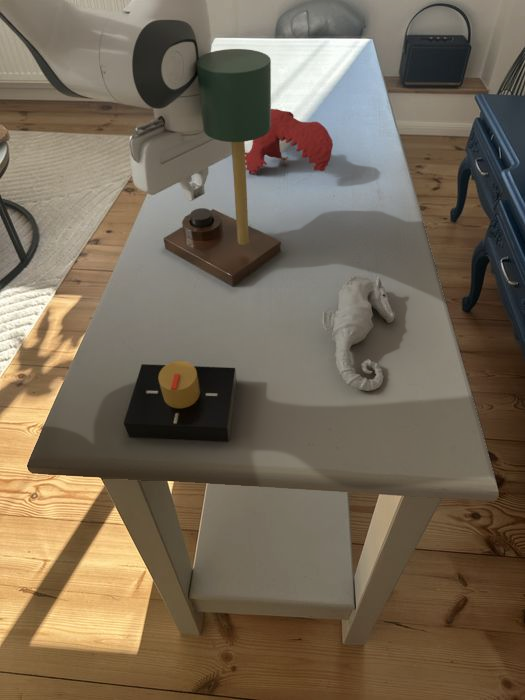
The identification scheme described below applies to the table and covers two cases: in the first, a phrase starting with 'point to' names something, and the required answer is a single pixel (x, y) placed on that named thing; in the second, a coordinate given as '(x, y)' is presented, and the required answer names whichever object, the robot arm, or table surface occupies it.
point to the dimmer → (183, 423)
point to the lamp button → (201, 218)
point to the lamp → (236, 110)
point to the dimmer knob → (179, 384)
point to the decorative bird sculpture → (305, 134)
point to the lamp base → (222, 248)
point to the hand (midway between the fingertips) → (194, 196)
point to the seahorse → (357, 326)
